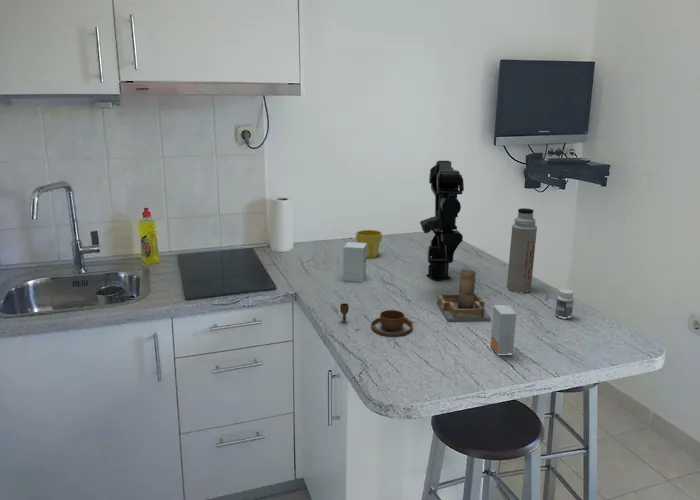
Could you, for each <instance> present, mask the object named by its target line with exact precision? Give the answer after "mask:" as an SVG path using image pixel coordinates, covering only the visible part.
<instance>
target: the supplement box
mask: <svg viewBox="0 0 700 500" xmlns="http://www.w3.org/2000/svg"><path fill="white" fill-rule="evenodd" d="M367 259H368V258H367V243H358V242H357V241H356V242H355V241H354V242H351V241H347V242H346V243H345V245H344V246H343V263H342V265H343V273H342V274H343V275H342V276H343V277H342V278H343V281H344V282H354V283H355V282H356V283H357V282H358V283H363V282H364V281H365V278H366V277H367Z"/></svg>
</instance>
